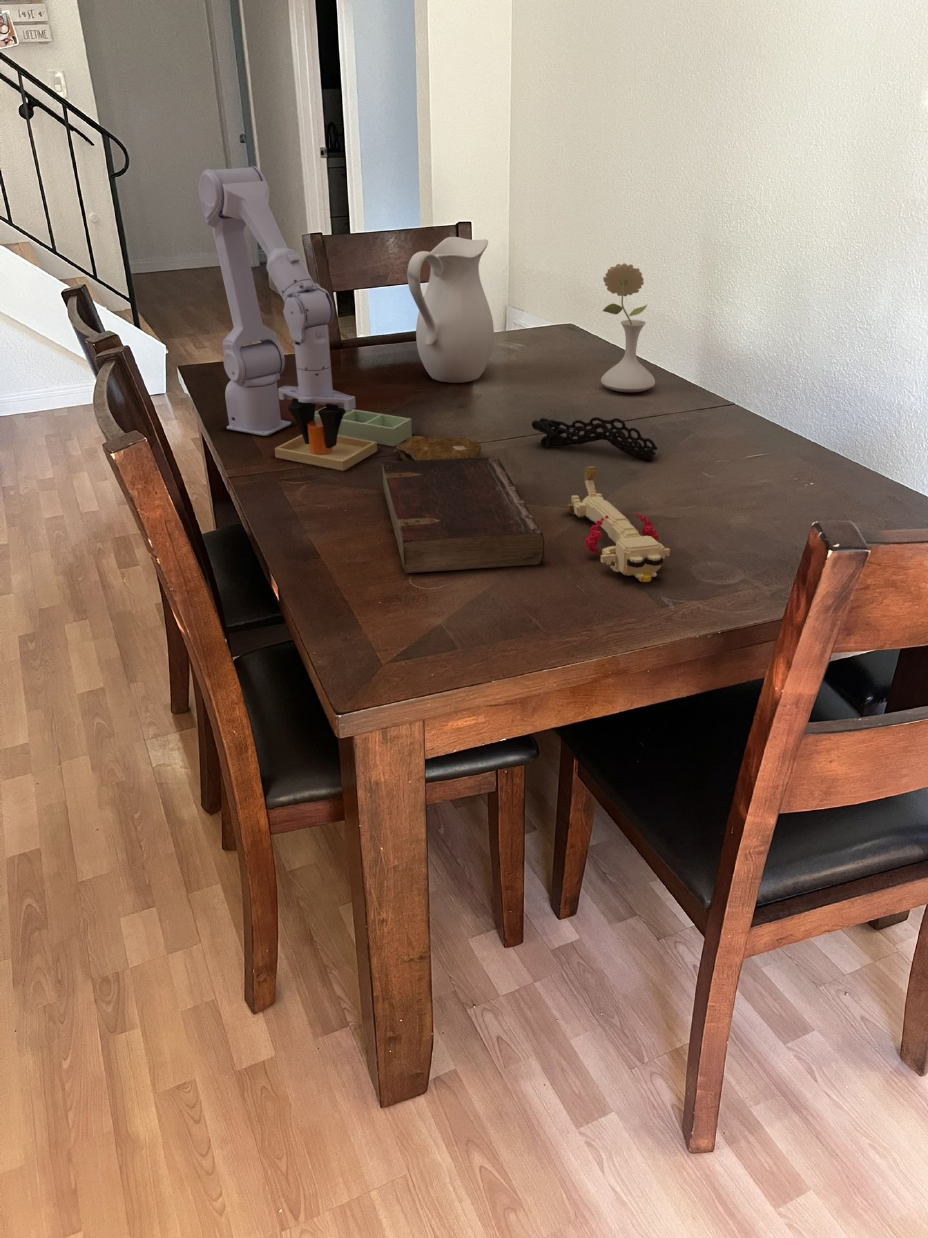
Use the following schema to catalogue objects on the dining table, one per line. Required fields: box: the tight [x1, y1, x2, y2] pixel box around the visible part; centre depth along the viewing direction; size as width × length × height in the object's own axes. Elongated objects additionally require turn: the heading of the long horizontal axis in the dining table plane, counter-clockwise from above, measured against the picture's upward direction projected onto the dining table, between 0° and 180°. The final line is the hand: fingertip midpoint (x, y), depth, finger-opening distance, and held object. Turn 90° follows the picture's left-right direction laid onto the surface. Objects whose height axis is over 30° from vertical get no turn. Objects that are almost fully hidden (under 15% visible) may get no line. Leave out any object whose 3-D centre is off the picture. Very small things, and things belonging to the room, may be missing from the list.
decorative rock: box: [393, 435, 483, 461], centre depth 153 cm, size 11×4×15 cm
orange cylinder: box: [307, 420, 333, 455], centre depth 156 cm, size 4×4×5 cm
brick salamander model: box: [566, 465, 671, 583], centre depth 123 cm, size 10×9×25 cm
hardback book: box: [381, 456, 545, 574], centre depth 131 cm, size 29×19×5 cm, turn 10°
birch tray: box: [274, 434, 378, 472], centre depth 157 cm, size 14×11×2 cm
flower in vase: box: [600, 262, 656, 393], centre depth 185 cm, size 13×11×25 cm
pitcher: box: [406, 236, 495, 384], centre depth 190 cm, size 24×17×28 cm
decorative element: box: [531, 416, 658, 461], centre depth 157 cm, size 22×5×6 cm, turn 66°
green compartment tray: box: [314, 406, 413, 447], centre depth 166 cm, size 18×6×3 cm, turn 63°
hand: (320, 444), depth 157 cm, fingers closed on orange cylinder, 4 cm apart
